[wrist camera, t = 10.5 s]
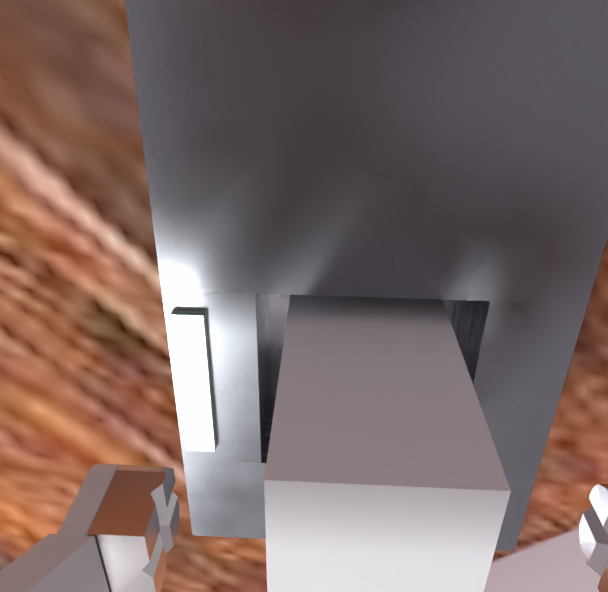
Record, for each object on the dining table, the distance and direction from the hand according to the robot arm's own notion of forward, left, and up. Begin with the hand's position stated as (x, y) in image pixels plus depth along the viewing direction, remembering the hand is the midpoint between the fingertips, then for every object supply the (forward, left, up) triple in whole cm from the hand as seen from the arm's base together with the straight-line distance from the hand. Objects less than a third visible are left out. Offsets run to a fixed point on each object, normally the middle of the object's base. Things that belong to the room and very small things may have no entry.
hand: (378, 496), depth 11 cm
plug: (0, 0, -7) cm, 7 cm away
